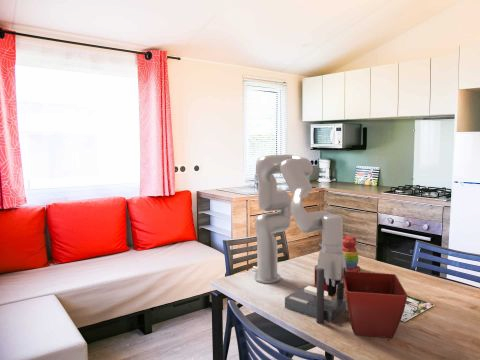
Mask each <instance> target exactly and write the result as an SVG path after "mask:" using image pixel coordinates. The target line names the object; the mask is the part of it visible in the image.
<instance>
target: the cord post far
mask: <svg viewBox="0 0 480 360" xmlns="http://www.w3.org/2000/svg"><path fill="white" fill-rule="evenodd" d="M336 294H337V298H341V299H344V297H345V291H344V285H343V283H338V284H337V285H336ZM344 300H345V299H344Z"/></svg>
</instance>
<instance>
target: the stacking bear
mask: <svg viewBox="0 0 480 360" xmlns="http://www.w3.org/2000/svg"><path fill="white" fill-rule="evenodd" d="M356 244H357V238H356V236H351V235H348V236H347V235H343V252H344V254H345V260H346V271H352V272H361V267H360V265H358V264H359V253H358V250H357V247H356Z"/></svg>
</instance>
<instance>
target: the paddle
mask: <svg viewBox="0 0 480 360" xmlns="http://www.w3.org/2000/svg"><path fill="white" fill-rule="evenodd" d="M303 288H304V292H306V293H309V294H312V295H315V296H317V288H315V287H314V286H312V285H307V286H306V287H303ZM335 298H337V293H336V294H335V295H333V296H329V295H328V292H327V291H324V299H327V300H330V301H333V300H334V299H335Z"/></svg>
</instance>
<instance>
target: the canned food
mask: <svg viewBox="0 0 480 360" xmlns="http://www.w3.org/2000/svg"><path fill="white" fill-rule="evenodd" d="M317 265H318V264H316V265H315V266H314V285H313V287H315V288H317ZM332 280H333V279H332ZM324 291H327V284H326V282H325V281H324Z"/></svg>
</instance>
